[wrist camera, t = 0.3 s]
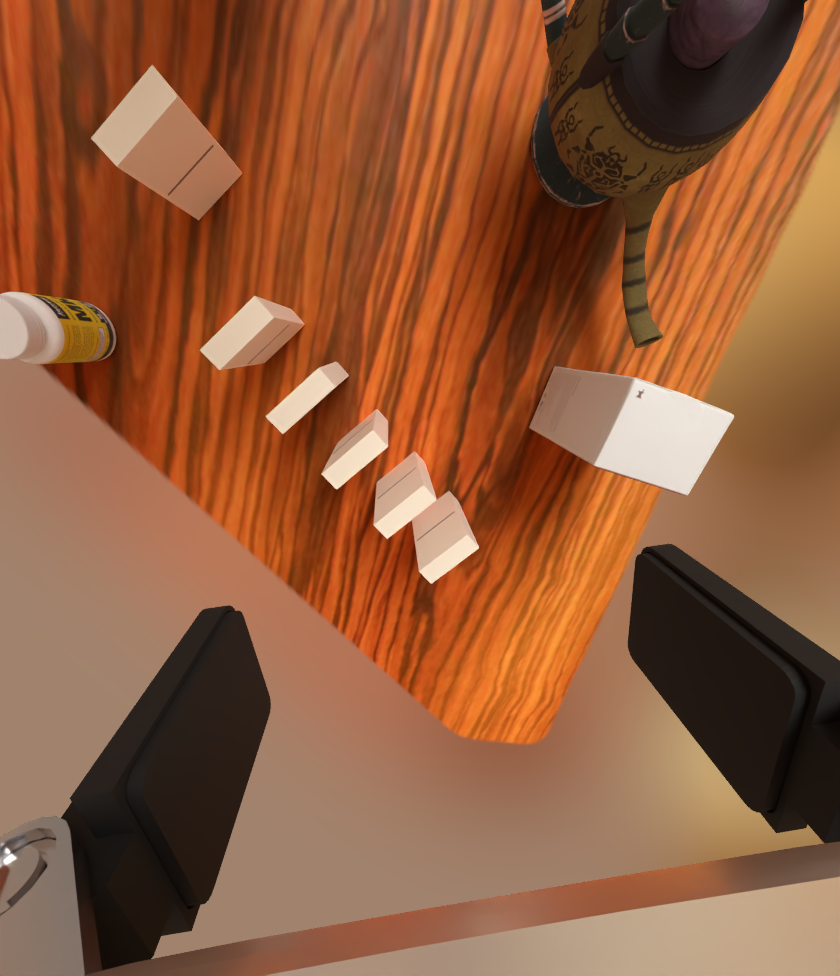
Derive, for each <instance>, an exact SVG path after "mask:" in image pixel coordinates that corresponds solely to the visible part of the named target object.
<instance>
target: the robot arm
mask: <svg viewBox="0 0 840 976" xmlns="http://www.w3.org/2000/svg"><path fill="white" fill-rule="evenodd" d="M628 649H629V652H630V655H631V657H632V659H633V660H634V662H635V663H636V664H637V666H638V667H639V668H640V669H641V671H642V672H643V673H644V674H645V676H646V677H647V678H648V680H649V681H650V682H651V683H652V685H653V686H654V687H655V689H656V690H657V691H658V692H659V694H660V695H661V696H662V698H663V699H664V700H665V701H666V703H667V704H668V705H669V706H670V708H671V709H672V710H673V712H674V713H675V714H676V716H677V717H678V718H679V719H680V721H681V722H682V723H683V724H684V726H685V727H686V728H687V730H688V731H689V732H690V733H691V735H692V736H693V737H694V739H695V740H696V741H697V742H698V744H699V745H700V746H701V748H702V749H703V750H704V751H705V753H706V754H707V755H708V757H709V758H710V759H711V760H712V762H713V763H714V764H715V766H716V767H717V768H718V769H719V771H720V772H721V773H722V775H723V776H724V777H725V778H726V780H727V781H728V782H729V783H730V785H731V786H732V787H733V789H734V790H735V791H736V792H737V794H738V795H739V796H740V798H741V799H742V800H743V801H744V803H745V804H746V805H747V806H748V807H750V809H752V810H753V811H756V812H760V813H761V814H762V816H763V817H764V818H765V820H766V821H767V822H768V823H769V825H770V826H771V827H772V828H773V829H774V831H775V832H776V833H780V832H785V831H792V830H797V829H803V828H806V827H807V824H808V825H809V826H810V827H811V828H812V829H813V831H814V832H815V833H816V834H817V835H818V836H819V838H820V839H821V843H822V844H819V845H812V846H804V847H797V848H790V849H784V850H778V851H772V852H766V853H760V854H754V855H748V856H741V857H735V858H729V859H723V860H716V861H711V862H704V863H698V864H692V865H686V866H680V867H674V868H667V869H661V870H655V871H649V872H642V873H636V874H631V875H624V876H618V877H612V878H606V879H600V880H594V881H589V882H582V883H576V884H571V885H564V886H558V887H553V888H547V889H541V890H535V891H529V892H524V893H517V894H511V895H506V896H499V897H494V898H488V899H482V900H476V901H470V902H464V903H458V904H453V905H447V906H441V907H435V908H429V909H423V910H417V911H411V912H405V913H400V914H394V915H389V916H383V917H377V918H371V919H366V920H360V921H354V922H348V923H343V924H337V925H331V926H326V927H320V928H314V929H308V930H303V931H298V932H292V933H286V934H280V935H274V936H269V937H263V938H258V939H252V940H246V941H241V942H236V943H231V944H226V945H221V946H216V947H211V948H205V949H200V950H195V951H190V952H185V953H180V954H176V955H170V956H165V957H161V958H155V959H151V958H152V957H153V956H154V952H155V950H156V948H157V945H158V943H159V940H160V937H161V936H163V935H169V934H175V933H182V932H188V931H192V928H193V925H194V922H195V919H196V916H197V913H198V910H199V907H200V904H205V903H206V902H207V901H208V900H209V898H210V896H211V894H212V891H213V889H214V886H215V883H216V880H217V876H218V874H219V870H220V867H221V864H222V861H223V858H224V855H225V852H226V848H227V845H228V842H229V839H230V836H231V833H232V830H233V827H234V823H235V820H236V817H237V814H238V811H239V808H240V805H241V802H242V799H243V795H244V792H245V789H246V786H247V783H248V780H249V777H250V773H251V771H252V767H253V764H254V761H255V758H256V755H257V752H258V749H259V746H260V742H261V739H262V736H263V733H264V730H265V727H266V724H267V720H268V717H269V713H270V708H271V707H270V706H271V703H270V696H269V693H268V690H267V687H266V684H265V680H264V678H263V674H262V672H261V668H260V665H259V662H258V659H257V656H256V653H255V650H254V647H253V644H252V641H251V638H250V635H249V632H248V629H247V625H246V622H245V619H244V616H243V614H242V612H240V611H235V609H234V608H233V607H232V606H222V607H215V608H208V609H204V610H202V611H201V612H200V613H199V615H198V616H197V618H196V619H195V621H194V622H193V623H192V625H191V626H190V628H189V629H188V631H187V632H186V634H185V635H184V636H183V638H182V639H181V641H180V642H179V643H178V645H177V646H176V648H175V649H174V651H173V652H172V653H171V655H170V656H169V658H168V659H167V661H166V662H165V663H164V665H163V666H162V668H161V669H160V670H159V672H158V673H157V675H156V676H155V678H154V679H153V681H152V682H151V683H150V685H149V686H148V688H147V689H146V690H145V692H144V693H143V695H142V696H141V698H140V699H139V701H138V702H137V703H136V705H135V706H134V708H133V709H132V710H131V712H130V713H129V715H128V716H127V718H126V719H125V720H124V722H123V724H122V725H121V726H120V728H119V729H118V730H117V732H116V733H115V735H114V736H113V738H112V739H111V740H110V742H109V743H108V745H107V746H106V748H105V749H104V750H103V752H102V753H101V755H100V756H99V758H98V759H97V760H96V762H95V763H94V765H93V766H92V767H91V769H90V771H89V772H88V773H87V775H86V776H85V778H84V779H83V780H82V782H81V783H80V785H79V786H78V788H77V789H76V790H75V792H74V793H73V795H72V796H71V797H70V799H71V801H72V803H71V804H70V806H69V807H68V809H67V810H66V812H65V813H64V814H63V816H62V817H61V818H59V817H57V816H53V817H41V818H38V819H35V820H32V821H30V822H27V823H24V824H22V825H20V826H18V827H17V828H15V829H13V830H11V831H9V832H8V833H6V834H4V835H3V836H1V837H0V976H840V661H839V660H838V659H836V658H835V657H834V656H832V655H831V654H829V653H828V652H826V651H825V650H824V649H822V648H821V647H819V646H818V645H816V644H815V643H814V642H812V641H811V640H809V639H808V638H806V637H805V636H803V635H802V634H801V633H799V632H798V631H796V630H795V629H793V628H792V627H791V626H789V625H788V624H786V623H785V622H783V621H782V620H781V619H779V618H778V617H776V616H775V615H773V614H772V613H771V612H769V611H768V610H766V609H765V608H763V607H762V606H761V605H759V604H758V603H756V602H755V601H753V600H752V599H751V598H749V597H748V596H746V595H745V594H743V593H742V592H740V591H739V590H737V589H736V588H735V587H733V586H732V585H731V584H729V583H728V582H726V581H725V580H723V579H722V578H720V577H719V576H718V575H716V574H715V573H713V572H712V571H710V570H709V569H708V568H706V567H705V566H703V565H702V564H700V563H699V562H698V561H696V560H695V559H693V558H692V557H690V556H689V555H688V554H686V553H685V552H683V551H682V550H680V549H679V548H678V547H676V546H674V545H672V544H665V545H658V546H651V547H646V548H644V549H643V550H642V552H641V554H639V555H638V556H637V557H636V561H635V571H634V583H633V593H632V603H631V615H630V625H629V636H628Z"/></svg>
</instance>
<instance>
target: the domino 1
mask: <svg viewBox="0 0 840 976" xmlns="http://www.w3.org/2000/svg"><path fill="white" fill-rule="evenodd" d="M91 139H92V140H93V141H94V142H95V143H96V144H97V146H98V147H99V148H100V149H101V150H102V151H103V152H104V153H105V154H106V155H107V157H108V158H109V159H110V160H111V161H112V162H113V163H114V164H115V165H116V166H117V167H118V168H119V169H121V170H122V171H124V172H125V173H127V174H128V175H130V176H132V177H133V178H135V179H136V180H138V181H139V182H141V183H142V184H144V185H145V186H147V187H148V188H150V189H151V190H153V191H154V192H156V193H157V194H159V195H160V196H162V197H164V198H165V199H167V200H168V201H170V202H171V203H173V204H174V205H176V206H177V207H179V208H180V209H182V210H183V211H185V212H186V213H188V214H189V215H191V216H192V217H194V218H195V219H197V220H200V219H201V217H202V216H203V215H204V214H205V213H206V212H207V211H208V210H209V209H210V208H211V207H212V206H213V205H214V204H215V202H216V201H217V200H218V199H219V198H220V197H221V196H222V195H223V194H224V193H225V192H226V191H227V190H228V189H229V187H230V186H231V185H232V184H233V183H234V182H235V181H236V180H237V179H238V178H239V177H240V176H241V175H242V174H243V173H242V172H241V170H240V169H239V168H238V167H237V165H236V164H235V163H234V162H233V160H232V159H231V158H230V157H229V155H228V154H227V153H226V152H225V151H224V149H223V148H222V147H221V146H220V145H219V143H218V142H217V141H216V140H215V139H214V137H213V136H212V135H211V134H210V133H209V132H208V130H207V129H206V128H205V127H204V126H203V124H202V123H201V122H200V121H199V120H198V118H197V117H196V116H195V115H194V114H193V112H192V111H191V110H190V109H189V108H188V107H187V105H186V104H185V103H184V102H183V101H182V99H181V98H180V97H179V96H178V95H177V93H176V92H175V91H174V90H173V89H172V88H171V86H170V85H169V84H168V83H167V82H166V80H165V79H164V78H163V77H162V76H161V74H160V73H159V72H158V71H157V70H156V68H155V67H154V66H153V65H151V67H150V68H149V69H148V70H147V71H146V73H145V74H144V75H143V76H142V77H141V79H140V80H139V81H138V82H137V83H136V85H135V86H134V87H133V88H132V89H131V91H130V92H129V93H128V94H127V95H126V97H125V98H124V99H123V100H122V101H121V103H120V104H119V105H118V106H117V107H116V109H115V110H114V111H113V112H112V113H111V115H110V116H109V117H108V118H107V119H106V121H105V122H104V123H103V124H102V125H101V127H100V128H99V129H98V130H97V131H96V133H95V134H94V135H93V136H92V137H91Z"/></svg>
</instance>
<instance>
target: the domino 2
mask: <svg viewBox="0 0 840 976" xmlns="http://www.w3.org/2000/svg"><path fill="white" fill-rule="evenodd" d="M304 325H305V324H304V323H303V322H302V320H301V319H300V318H299V317H298V316H297V315H296V314H295V312H294V311H293V310H292V309H290V308H287V307H285V306H282V305H279V304H276V303H274V302H271V301H268V300H265V299H263V298H260V297H257V296H254V297H253V298H252V299H251V300H250V301H249V302H248V303H247V304H246V305H245V306H244V307H243V308H242V309H241V310H240V311H239V312H238V313H237V314H236V315H235V316H234V317H233V318H232V319H231V320H230V321H229V322H228V323H227V324H226V325H225V326H223V327H222V328H221V329H220V330H219V331H218V332H217V333H216V334H215V335H214V336H213V337H212V338H211V339H210V340H209V341H208V342H207V343H206V344H205V345H204V346H203V347H202V348H201V349H200V351H201V352H202V353H203V354H204V355H205V356H206V357H207V358H208V359H209V360H210V361H211V362H212V363H213V364H214V365H215V366H216V367H217V368H218V369H219V370H225V369H231V368H237V367H244V366H250V365H257V364H263V363H265V362H266V361H267V360H269V359H270V358H271V357H272V356H273V355H274V354H275V353H276V352H277V351H278V350H279V349H280V348H281V347H282V346H283V345H284V344H285V343H286V342H288V341H289V340H290V339H291V338H292V337H293V336H294V335H295V334H296V333H297V332H298V331H299V330H300V329H301V328H302V327H303V326H304Z"/></svg>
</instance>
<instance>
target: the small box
mask: <svg viewBox="0 0 840 976" xmlns="http://www.w3.org/2000/svg"><path fill="white" fill-rule="evenodd" d="M733 418H734V415H733V414H731V413H729V412H727V411H724V410H722V409H719V408H717V407H714V406H712V405H709V404H707V403H704V402H702V401H699V400H697V399H694V398H692V397H690V396H687V395H685V394H682V393H679V392H677V391H673V390H670V389H666V388H663V387H661V386H658V385H655V384H652V383H650V382H647V381H644V380H641V379H638V378H634V377H627V376H621V375H613V374H607V373H599V372H591V371H583V370H576V369H570V368H564V367H558V366H555V367H554V369H553V371H552V374H551V376H550V378H549V381H548V383H547V385H546V388H545V390H544V393H543V395H542V398H541V400H540V402H539V405H538V407H537V410H536V412H535V415H534V417H533V419H532V422H531V424H530V426H529V428H530V429H531V430H533V431H535V432H536V433H538V434H540V435H542V436H544V437H545V438H547V439H549V440H550V441H552V442H554V443H555V444H557V445H559V446H560V447H562V448H564V449H565V450H567V451H569V452H571V453H572V454H574V455H576V456H577V457H579V458H581V459H582V460H584V461H586V462H587V463H589V464H590V465H592V466H594V467H596V468H599V469H602V470H605V471H608V472H612V473H615V474H618V475H621V476H624V477H627V478H630V479H634V480H637V481H640V482H643V483H646V484H649V485H653V486H656V487H659V488H662V489H666V490H669V491H672V492H675V493H678V494H682V495H685V496H687V495H688V494H689V492H690V490H691V489H692V487H693V485H694V484H695V482H696V480H697V478H698V477H699V475H700V473H701V472H702V470H703V468H704V467H705V465H706V463H707V462H708V460H709V458H710V457H711V455H712V453H713V451H714V450H715V448H716V446H717V445H718V443H719V441H720V440H721V438H722V436H723V434H724V433H725V431H726V429H727V428H728V426H729V424H730V422H731V421H732V419H733Z"/></svg>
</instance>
